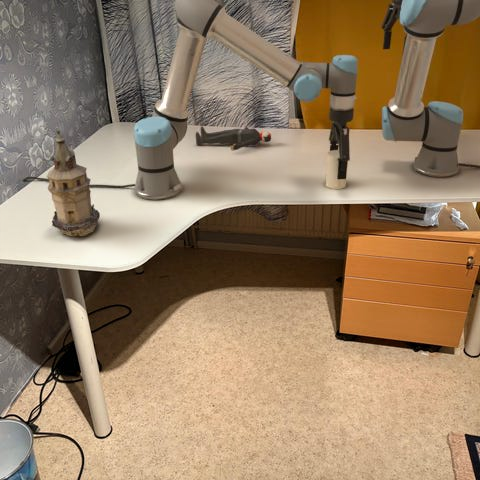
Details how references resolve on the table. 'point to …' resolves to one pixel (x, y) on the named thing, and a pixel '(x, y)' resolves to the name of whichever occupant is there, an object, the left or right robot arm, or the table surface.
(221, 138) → the toy
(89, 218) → the miniature building
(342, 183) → the can
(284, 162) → the table surface
